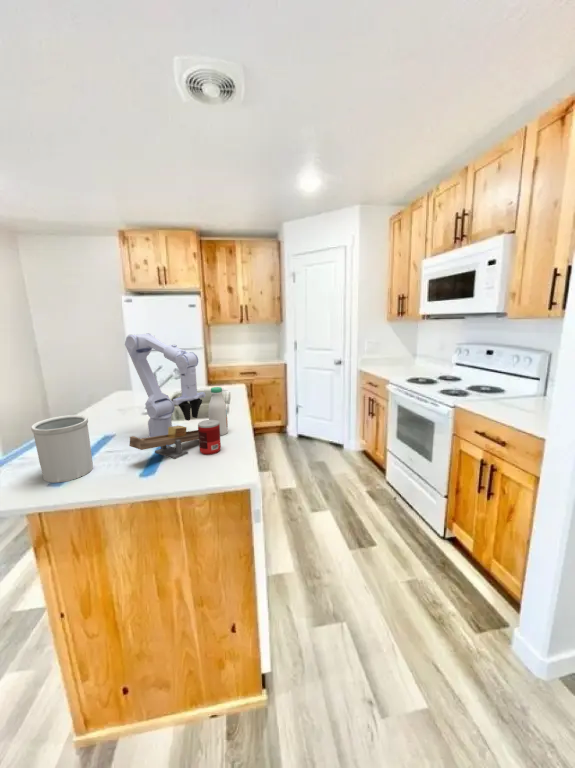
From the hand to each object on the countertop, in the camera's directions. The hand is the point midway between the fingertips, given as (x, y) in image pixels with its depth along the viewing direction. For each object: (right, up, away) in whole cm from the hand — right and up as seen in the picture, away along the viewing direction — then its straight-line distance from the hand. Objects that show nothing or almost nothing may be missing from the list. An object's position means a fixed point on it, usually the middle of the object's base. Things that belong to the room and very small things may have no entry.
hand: (191, 418), depth 130 cm
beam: (-5, -8, -6) cm, 11 cm away
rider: (-4, -7, -5) cm, 9 cm away
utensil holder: (-34, -16, -21) cm, 43 cm away
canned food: (+9, -12, -5) cm, 15 cm away
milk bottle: (+8, -8, +14) cm, 18 cm away
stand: (-5, -12, -7) cm, 15 cm away
